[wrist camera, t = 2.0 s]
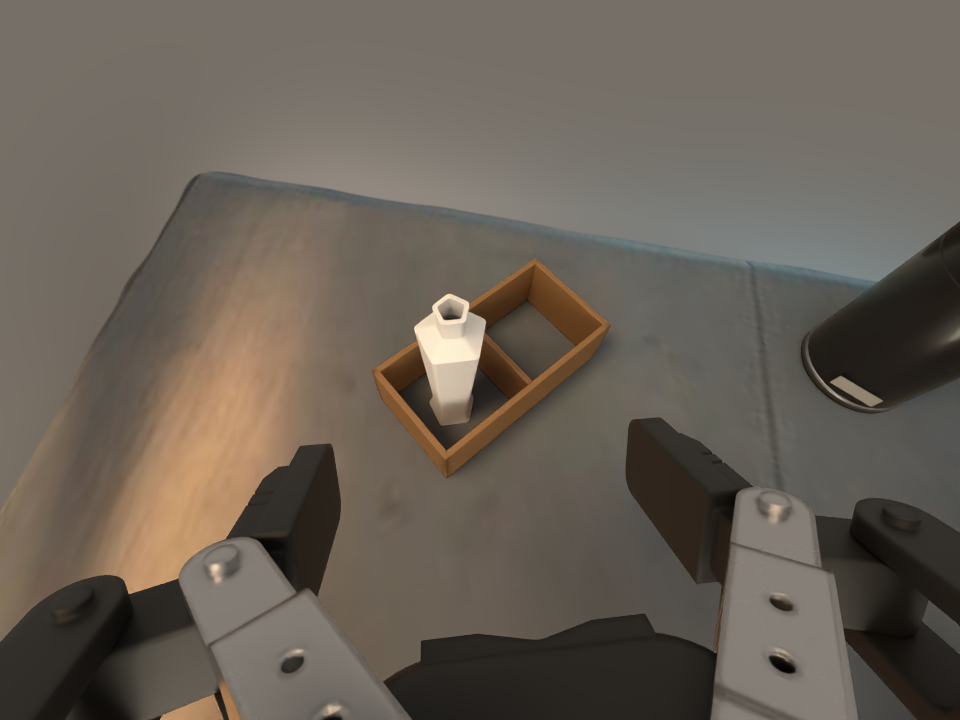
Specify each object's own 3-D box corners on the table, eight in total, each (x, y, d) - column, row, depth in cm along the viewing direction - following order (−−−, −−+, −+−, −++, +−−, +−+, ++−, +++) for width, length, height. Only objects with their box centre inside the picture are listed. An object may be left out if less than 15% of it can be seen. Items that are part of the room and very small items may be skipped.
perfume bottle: (489, 416, 39) (506, 325, 26) (442, 438, 38) (436, 354, 25) (465, 373, 41) (470, 267, 28) (420, 392, 40) (403, 291, 27)
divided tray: (527, 294, 46) (535, 257, 41) (593, 356, 43) (611, 325, 38) (381, 398, 40) (370, 370, 35) (446, 478, 37) (445, 460, 32)
